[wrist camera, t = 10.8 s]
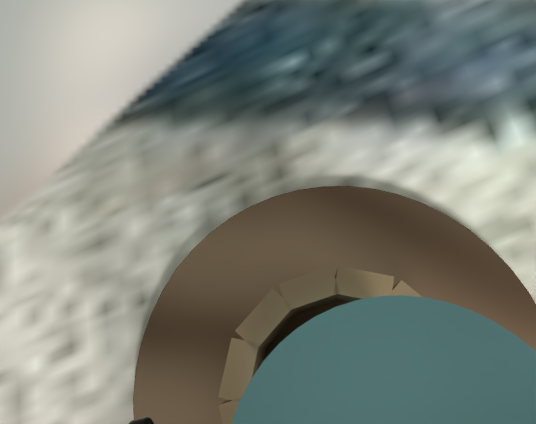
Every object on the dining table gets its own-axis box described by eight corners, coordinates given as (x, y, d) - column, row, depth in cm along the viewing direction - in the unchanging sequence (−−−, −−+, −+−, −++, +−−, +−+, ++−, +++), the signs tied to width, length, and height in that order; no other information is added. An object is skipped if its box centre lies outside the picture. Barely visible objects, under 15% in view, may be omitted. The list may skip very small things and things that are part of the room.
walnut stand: (555, 715, 15) (627, 824, 11) (85, 564, 17) (30, 618, 14) (569, 225, 19) (623, 200, 16) (195, 164, 22) (174, 130, 18)
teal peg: (415, 436, 17) (706, 692, 4) (300, 463, 17) (267, 788, 4) (379, 318, 18) (524, 259, 6) (273, 343, 18) (191, 340, 6)
